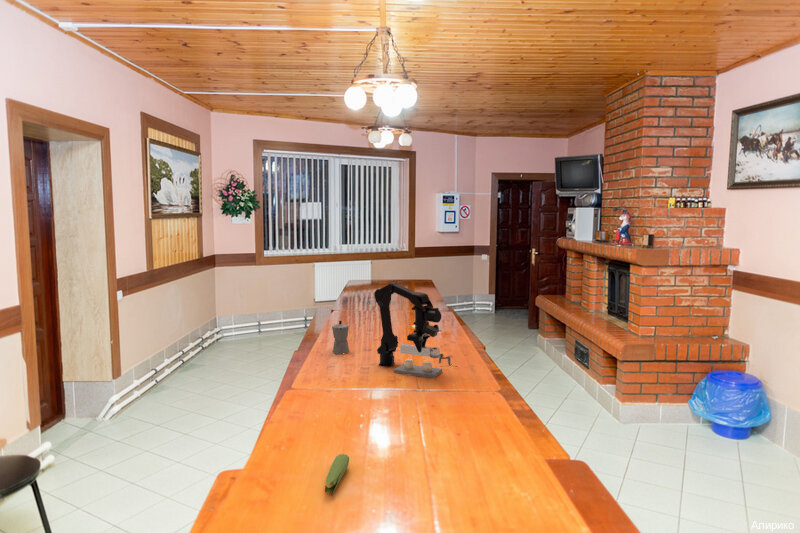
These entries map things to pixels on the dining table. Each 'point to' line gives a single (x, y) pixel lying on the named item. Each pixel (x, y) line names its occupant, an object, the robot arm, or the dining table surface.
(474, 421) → the dining table surface
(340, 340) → the coffeepot
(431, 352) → the spanner
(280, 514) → the dining table surface
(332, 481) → the edible corn
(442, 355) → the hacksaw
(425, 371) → the tool rack
